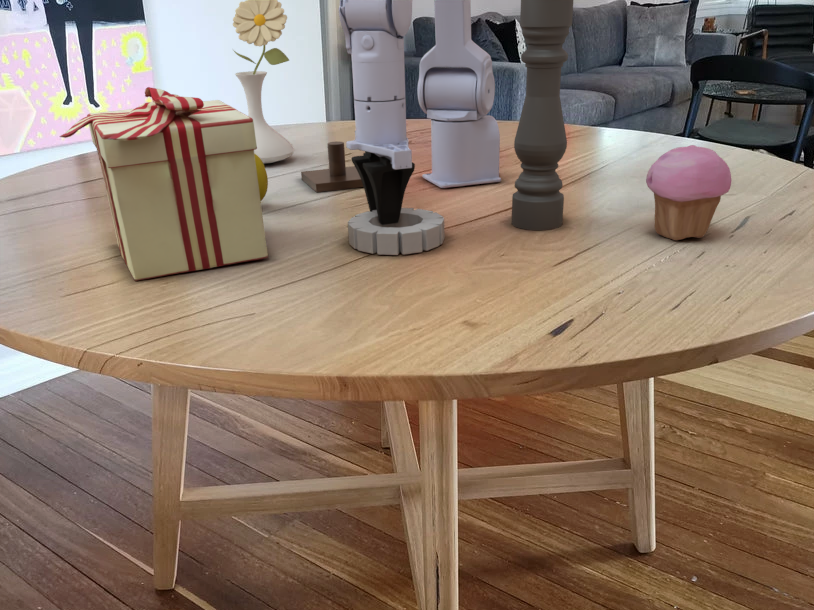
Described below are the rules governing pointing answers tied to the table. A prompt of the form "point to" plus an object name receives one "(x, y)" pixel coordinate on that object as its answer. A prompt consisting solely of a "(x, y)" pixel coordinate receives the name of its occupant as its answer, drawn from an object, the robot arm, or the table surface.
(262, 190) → the lemon
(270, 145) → the flower in vase
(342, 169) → the brown peg stand
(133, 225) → the gift box
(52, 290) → the table surface
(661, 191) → the cupcake
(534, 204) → the candle holder
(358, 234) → the grey notched ring
